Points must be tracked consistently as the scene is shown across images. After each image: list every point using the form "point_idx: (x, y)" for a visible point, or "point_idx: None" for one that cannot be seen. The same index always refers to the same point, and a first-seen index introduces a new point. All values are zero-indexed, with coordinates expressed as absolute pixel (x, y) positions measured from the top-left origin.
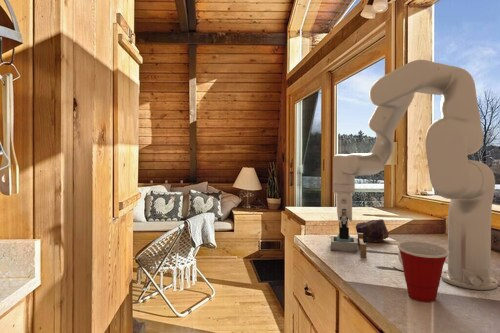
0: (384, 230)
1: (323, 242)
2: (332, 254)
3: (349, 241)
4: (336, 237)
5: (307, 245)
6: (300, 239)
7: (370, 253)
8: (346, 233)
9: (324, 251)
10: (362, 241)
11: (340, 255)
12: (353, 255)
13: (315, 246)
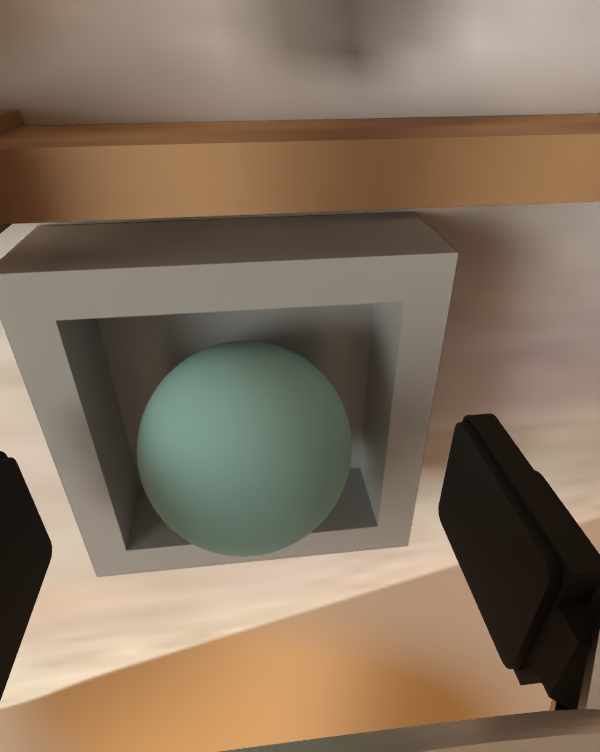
0: None
1: (67, 560)
2: (530, 447)
3: (311, 365)
4: (121, 524)
5: (245, 628)
6: (48, 693)
7: (491, 3)
8: (563, 507)
9: (427, 510)
10: (317, 157)
11: (569, 384)
12: (581, 261)
13: (262, 584)
